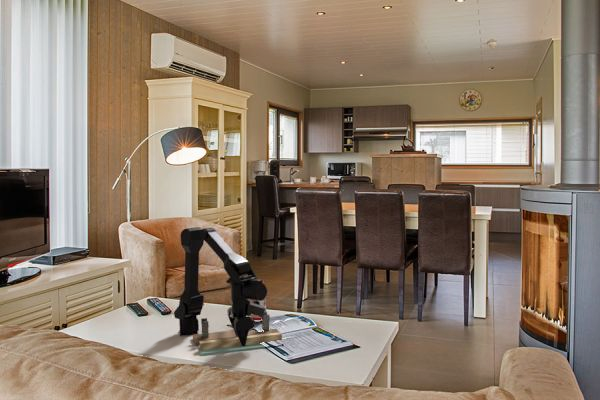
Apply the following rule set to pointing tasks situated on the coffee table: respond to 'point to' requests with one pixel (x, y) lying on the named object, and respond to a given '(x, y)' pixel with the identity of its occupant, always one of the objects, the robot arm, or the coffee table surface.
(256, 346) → the teal mat
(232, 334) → the walnut board
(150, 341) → the coffee table surface
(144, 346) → the coffee table surface
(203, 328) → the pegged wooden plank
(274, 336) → the oak rail
